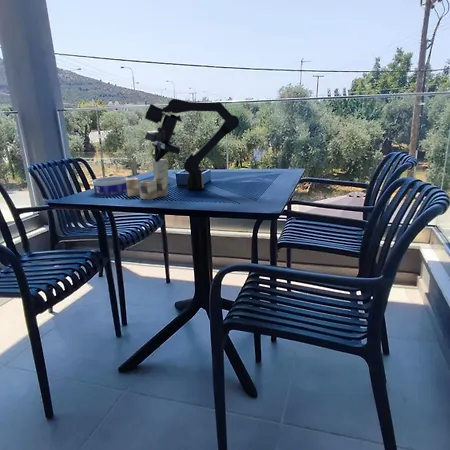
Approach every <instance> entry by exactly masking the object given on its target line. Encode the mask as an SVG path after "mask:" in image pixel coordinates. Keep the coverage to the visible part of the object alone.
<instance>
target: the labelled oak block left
mask: <svg viewBox="0 0 450 450" xmlns="http://www.w3.org/2000/svg"><path fill="white" fill-rule="evenodd" d="M152 180H156V183H157V193H158V197H166V196H168V194H169V190H168V187H169V186H168V184H167V178H155V179H154V178H153V179H152Z"/></svg>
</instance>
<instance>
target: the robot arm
mask: <svg viewBox="0 0 450 450" xmlns="http://www.w3.org/2000/svg"><path fill="white" fill-rule="evenodd" d="M187 112H214V113H217V114H218V115H219V116H220V118H222V119H223V122H222V124H221V125H220V127H219V128H218V130H217V131H216V132H215V133H214V134H213V135H212V136H211V137H210V138H209V139H208V140H207V141H206V142H205V144H203V146H201V148H199V149H198V151H197V152H195V153H194V154H193V152H190V154H189V156H187V157H186V158H185V159H184V163H183V169H184V170H185V172H186V173H188V175H187V178H186V180H187V190H203V189H204V188H205V185H204V184H205V183H204V182H205V181H204V174H203V173H202V172H203V169H202V168H201V166H200V164H201V162H202V161H203V159H204V158H205V157H206V156H207V155H208V154H209V153H210V152H211V151H213V149H214V148H215V147H216V146H217V145H218V143H220V141H222V139H223V138H224V137H226V135H229V134H230V133H232V132H233V131H234V130H235V129H238V127H239V124H240V121H239V120H240V119H239V118H238V116H236V115H233V114H232V113H230V111H229V110H227V108H226V107H225V106H224V105H223V103H222V102H219V101H218V102H217V101H216V102H201V101H200V102H199V101H198V102H197V101H186V100H182V99H177V98H173V99H171V100H169V102H168V104H167V105H165V106H164V107H163V108H161V107H159V106H156V105H154V104H152V103H151V104H150V103H149V107H148V109H147V110H146V113H145V115H144V118H145V119H144V120H147V121H149V122H152V123H154V124H157V125H158V124H159V123H161V126H159V127H157V130H148V131H146V134H145V136H144V139H145V140H147V141H150V142H151V145H152V147H154V160H155V162H158V161H159V160H160V159H163V158H164V156H166V155H167V154H168V153H173V154H178V155H180V152H181V148H180V147H179V146H177V145H175V144H173V142H172V141H171V140H172V137H173V136H175V135H176V133H175V128H176V126H177V122H180V123H182V122H183V120H182V117H181V115H180V114H181V113H187ZM166 113H170V115H169V114H166ZM175 114H179V115H175Z"/></svg>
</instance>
